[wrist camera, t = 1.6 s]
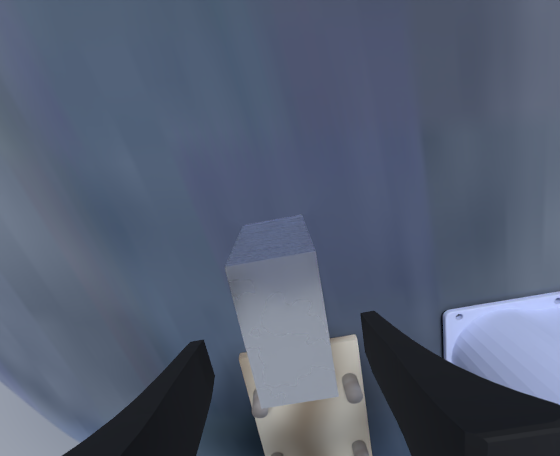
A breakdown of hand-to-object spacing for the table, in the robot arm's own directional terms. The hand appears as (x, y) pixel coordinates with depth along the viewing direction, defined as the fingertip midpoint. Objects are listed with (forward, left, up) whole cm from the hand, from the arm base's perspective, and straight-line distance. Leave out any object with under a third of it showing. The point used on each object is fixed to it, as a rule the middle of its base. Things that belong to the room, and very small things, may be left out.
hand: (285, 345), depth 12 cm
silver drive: (0, 0, -8) cm, 8 cm away
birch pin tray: (0, +13, -8) cm, 15 cm away
